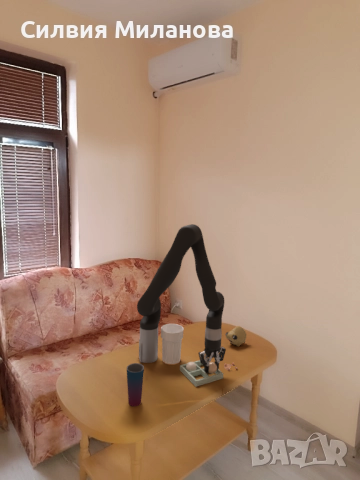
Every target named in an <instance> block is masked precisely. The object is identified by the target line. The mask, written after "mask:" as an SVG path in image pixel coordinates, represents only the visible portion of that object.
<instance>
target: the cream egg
mask: <svg viewBox="0 0 360 480" xmlns="http://www.w3.org/2000/svg"><path fill="white" fill-rule="evenodd" d="M194 362H195V361H189V362H187V363H186V364H187V365H186V370H187V371H188V372H192V371H195V370H196V369H197V366H196V364H195V363H194Z"/></svg>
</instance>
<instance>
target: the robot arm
mask: <svg viewBox="0 0 360 480" xmlns="http://www.w3.org/2000/svg"><path fill="white" fill-rule="evenodd" d="M190 248H191V251H192V254H193V258H194V267H195V272H196V276H197V279H198V282H199V285H200V286H201V293H202V298H203V302H204V305H205V307H206V308H207V309H208V312H207V314H206V317H205V318H206V319H205V331H204V349H203V351H199V352H198V357H199V360H200V363H201V364H202V365H201V366H203V368H204V371H205V372H206V373H207V374H210V373H209V363H210V362H212V359H213V358H214V361H213V362H214V363H215V364H216V365H217V371H218V369H219V370H220V363H221V362H223V361H224V358H225V354H226V351H227V349H226V348H225V347H224V346H222V336H223V335H222V334H223V331H222V330H223V329H222V325H223V324H222V322H223V319H222V318H223V313H224V307H225V296H224V295H223V293H222V292H220V291H217V281H216V278H215V276H214V273H213V270H212V267H211V263H210V262H209V258H208V254H207V251H206V245H205V242H204V236H203V233H202V229H201V228H200V227H199V225H197V224H186V225H183V226H181V227H180V228H179V229H178V231H177V233H176V235H175V237H174V240H173V242H172V245H171V247H170V248H169V250H168V252H167V253H166V255H165V257H164V258H163V261H162V262H161V263H160V265H159V267H158V268H157V270H156V272H155V274H154V276H153V278H152V280H151V282H150V283H149V285H148V287H147V289H145V292H143V294H142V296H141V297H140V298H139V299H138V301H137V305H136V310H137V312H138V314H139V315H140V316H142V318H141V319H140V322H139V339H138V359H139V362H140V363H144V364H146V363H147V364H149V363H155V362H156V361H157V360H158V355H159V323H160V320H161V315H162V313H161V312H162V303H161V299H160V297H161V296H162V295H163V294H164V293H165V292H166V291H167V290H168V288H170V286H172V284H173V283H174V281H175V280H176V278H177V277H178V275H179V273H180V271H181V268H182V264H183V263H182V262H183V260H184V257H185V255H186V254H187V253H188V251H189V249H190Z"/></svg>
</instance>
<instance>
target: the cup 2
mask: <svg viewBox="0 0 360 480" xmlns="http://www.w3.org/2000/svg"><path fill="white" fill-rule="evenodd" d="M184 330H185V328H184V327H183V325H180V324H177V323H167V324H163V325H161V327H160V338H161V342H162V344H161V350H162V352H161V353H162V357H161V360H162V362H163V363H164V365H169V366H175V365H178V364H180V362H181V354H182V340H183V338H184Z"/></svg>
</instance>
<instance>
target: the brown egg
mask: <svg viewBox="0 0 360 480" xmlns="http://www.w3.org/2000/svg"><path fill="white" fill-rule="evenodd" d="M216 371H217V365H216V364H215V363H214V361H210V363H209V373H208V374H213V375H214V374H216V373H215V372H216Z"/></svg>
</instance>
